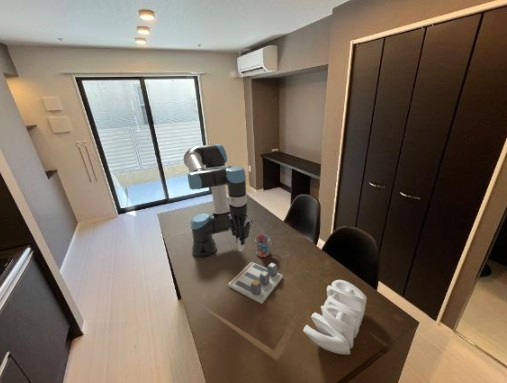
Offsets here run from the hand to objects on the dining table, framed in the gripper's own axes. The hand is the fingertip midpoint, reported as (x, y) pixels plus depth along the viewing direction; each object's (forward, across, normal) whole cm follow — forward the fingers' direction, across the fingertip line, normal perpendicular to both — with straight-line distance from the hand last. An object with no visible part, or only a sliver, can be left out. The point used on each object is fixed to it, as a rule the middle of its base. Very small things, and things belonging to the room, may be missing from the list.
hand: (241, 249), depth 106 cm
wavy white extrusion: (+23, +45, +5) cm, 50 cm away
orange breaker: (+20, +8, -1) cm, 22 cm away
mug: (+23, -6, +29) cm, 38 cm away
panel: (+23, +3, +6) cm, 24 cm away
